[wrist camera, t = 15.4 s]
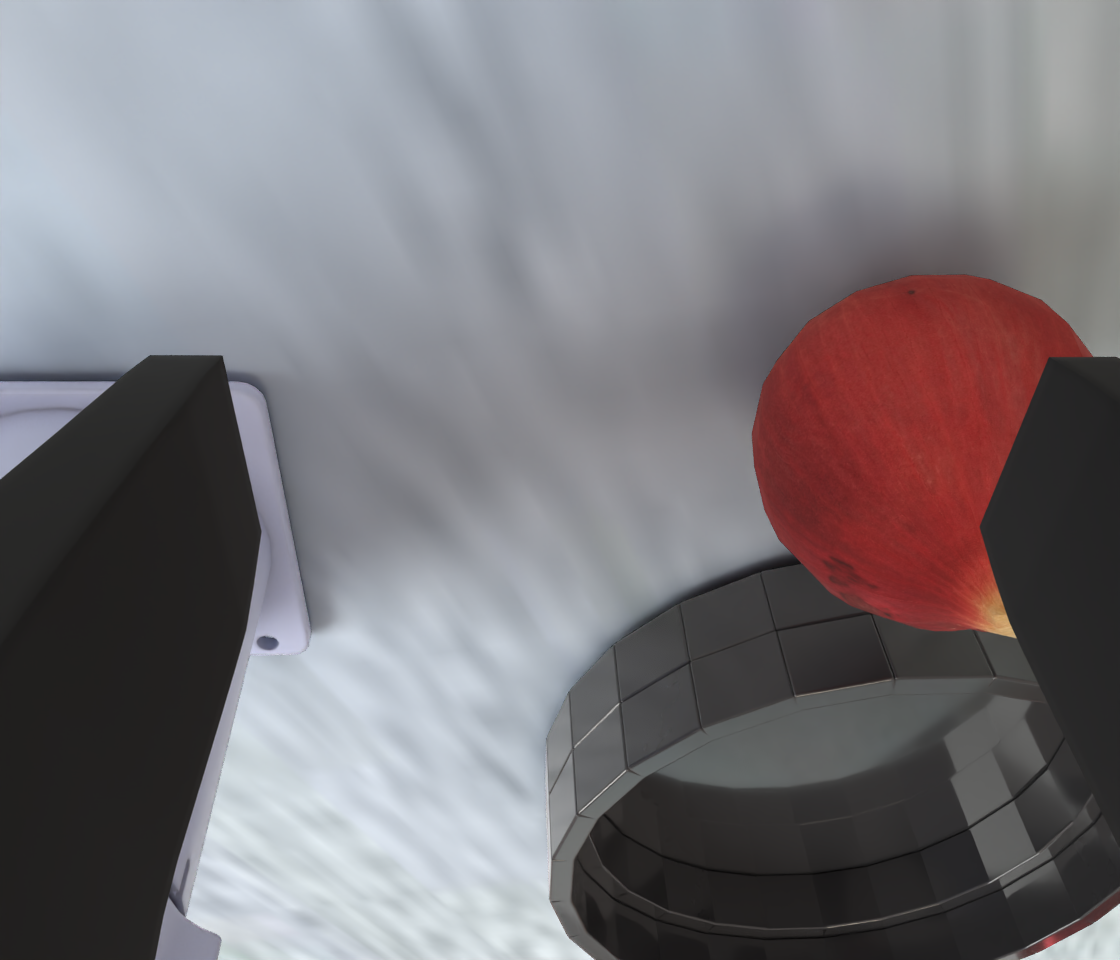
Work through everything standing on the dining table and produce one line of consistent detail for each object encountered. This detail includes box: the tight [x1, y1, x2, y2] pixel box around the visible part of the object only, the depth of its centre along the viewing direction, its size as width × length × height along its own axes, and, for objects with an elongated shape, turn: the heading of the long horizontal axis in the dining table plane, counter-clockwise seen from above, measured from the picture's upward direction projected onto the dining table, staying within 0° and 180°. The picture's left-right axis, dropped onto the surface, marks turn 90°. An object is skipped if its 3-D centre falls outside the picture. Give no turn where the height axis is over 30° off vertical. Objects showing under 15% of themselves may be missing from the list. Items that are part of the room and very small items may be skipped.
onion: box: [752, 275, 1093, 638], centre depth 17 cm, size 6×6×8 cm
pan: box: [545, 564, 1120, 960], centre depth 28 cm, size 16×16×4 cm
